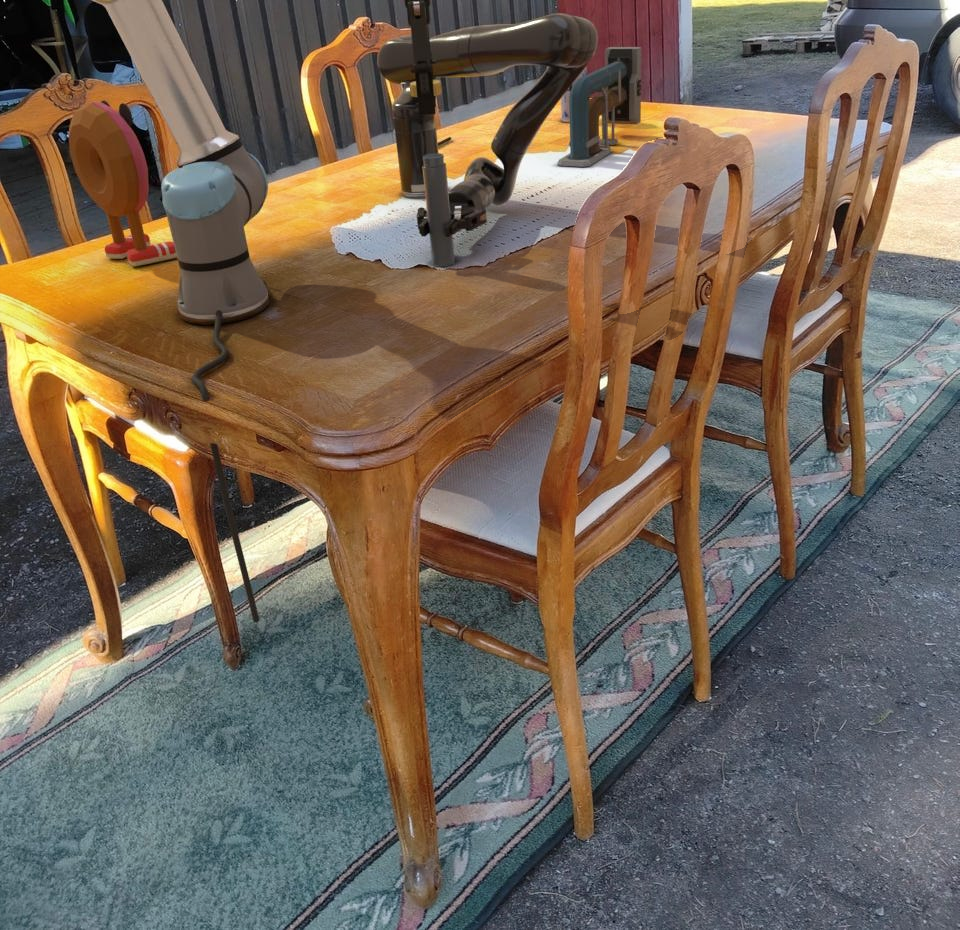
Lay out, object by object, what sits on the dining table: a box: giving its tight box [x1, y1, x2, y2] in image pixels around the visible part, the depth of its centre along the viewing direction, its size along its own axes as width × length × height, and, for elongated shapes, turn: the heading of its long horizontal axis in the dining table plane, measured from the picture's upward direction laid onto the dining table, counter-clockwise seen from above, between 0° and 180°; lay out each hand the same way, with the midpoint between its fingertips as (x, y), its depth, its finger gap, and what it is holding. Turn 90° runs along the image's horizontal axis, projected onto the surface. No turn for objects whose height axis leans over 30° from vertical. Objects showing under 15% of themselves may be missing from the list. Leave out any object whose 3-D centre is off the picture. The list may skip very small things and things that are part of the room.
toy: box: [68, 100, 177, 267], centre depth 187 cm, size 21×10×30 cm, turn 47°
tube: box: [422, 152, 456, 267], centre depth 174 cm, size 4×4×19 cm
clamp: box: [556, 46, 642, 168], centre depth 239 cm, size 35×9×21 cm, turn 151°
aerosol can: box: [560, 65, 588, 123], centre depth 273 cm, size 8×8×20 cm
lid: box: [410, 79, 443, 97], centre depth 158 cm, size 5×5×2 cm
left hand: (427, 110), depth 160 cm, fingers closed on lid, 5 cm apart
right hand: (435, 231), depth 173 cm, fingers closed on tube, 4 cm apart
